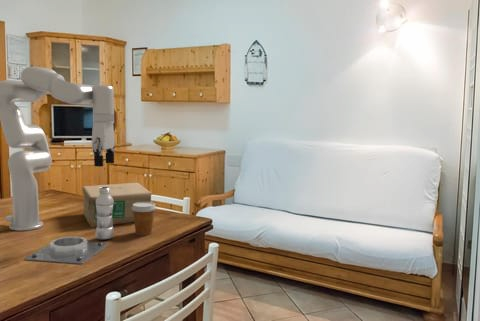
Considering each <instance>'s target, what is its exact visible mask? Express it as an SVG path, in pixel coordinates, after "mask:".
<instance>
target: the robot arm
mask: <svg viewBox="0 0 480 321" xmlns="http://www.w3.org/2000/svg"><path fill="white" fill-rule="evenodd" d="M114 91H115V90H114V87H113V86H111V85H107V84H106V85H105V84H96V85H92V84H83V83H74V82H70V81H66V80H65V78H64V76H63V74H60V73H57V72H56V71H55V70H53V69H52V68H50V67H49V68H48V67H41V66H27V67H25V68H23V70H22V71H21V73H20V80H13V79H5V80H2V81H1V80H0V123H1V128H2V131H3V135H4V139H5V142H6V144H7V146H8V147H9V148H11V149H24V148H25V149H26V148H28V150H20V151H19V150H18V151H15V152H14V153H12V154H11V155H10V156H9V157H8V160H7V166H8V169H9V170H8V171H9V174H10V180H11V198H12V201H11V202H12V215H7V216H6V217H5V219H4V221H5V222H10V224H9V226H8V228H9V230H12V231H30V230H31V231H32V230H36V229H39V228H42V227H43V225H44V221H42V220H40V213H39V211H40V210H39V184H38V181H37V178H36V176H34V173H35V174H36V173H41V172H45V171H47V170H49V169H50V168H51V166H52V161H53V158H52V155H51V150H50V146H49V144H48V139H47V136H46V134H45V131H44V130H43V129H42V128H41V126H39V125H36V124H26V122H25V119H24V118H25V117H24V114H23V112H22V110H21V109H20V108H19V107H18V106H17V105H16V103H34V102H37V101H39V100H40V99H42V98H43V97H45V96H46V95H47V94H48V95H51V97H52V98H54V99H56V100H58V101H61V102H64V103H66V104H70V105H75V106H76V105H79V106H81V105H82V106H92V123H93V124H92V131H91V133H92V134H91V148H92V152H93V163H94V164H93V166H94V167H104V155H103V153H104V150H105V163H106V164H114V163H115V148H116V146H115V144H116V140H115V129H114V124H115V92H114Z"/></svg>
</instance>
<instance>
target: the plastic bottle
mask: <svg viewBox="0 0 480 321" xmlns="http://www.w3.org/2000/svg"><path fill="white" fill-rule="evenodd" d="M99 193H100V195H99V196H98V197H97V199H96V208H97V226H96V227H95V228H96V229H95V237H96V239H98V240H104V241H105V240H109V239H112V238H114V237H113V236H114V234H115V230H114V226H113V225H114V224H113V223H112V210H113V204H114V200H113V198H112V196H111V195H110V194H109V193H110V188H109V187H100V188H99Z"/></svg>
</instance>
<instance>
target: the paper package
mask: <svg viewBox="0 0 480 321" xmlns="http://www.w3.org/2000/svg"><path fill="white" fill-rule="evenodd" d="M100 187H109V188H110V193H109V194H110V195H111V196H112V198H113V200H114V204H113V210H112V223H113V225H120V224H128V223H129V224H130V223H134V215H133V210H132V206H133V204H134V203H138V202H151V203H152V192H151V191H149V190H148V189H147V188H146V187H144V186H143V185H141V184H140V183H139V182H127V183H116V184H115V183H113V184H98V185H85V186H84V185H83V186H82V191H83V215H84V217H85V220H86V222H87V223H88V225H89V227H91V228H94V227H95V228H96V227H97V208H96V199H97V197H98V196H99V195H100V193H99V188H100Z"/></svg>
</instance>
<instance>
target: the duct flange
mask: <svg viewBox="0 0 480 321" xmlns="http://www.w3.org/2000/svg"><path fill="white" fill-rule="evenodd" d="M108 246H109V242H103V241H102V242H101V241H99V242H98V241H88V239H87V238H86V237H83V236H76V235H75V236H74V235H72V236H63V237H60V238H55V239H53V240H51V241H50V242H49V244H47V245H45V246H43V247H41V248H39V249H38V250H36V251H35V252H33V253H31V254H29V255H27V256H25V257H24V261H33V262H34V261H35V262H48V263H49V262H51V263H61V264H62V263H64V264H76V265H77V264H79V265H83V264H84V263H86V262H87V261H88V260H90V259H91V258H92V257H94V256H95V255H96V254H98V253H100V251H102V250H103V249H104V248H106V247H108Z"/></svg>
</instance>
